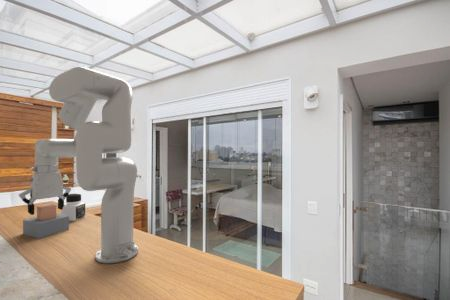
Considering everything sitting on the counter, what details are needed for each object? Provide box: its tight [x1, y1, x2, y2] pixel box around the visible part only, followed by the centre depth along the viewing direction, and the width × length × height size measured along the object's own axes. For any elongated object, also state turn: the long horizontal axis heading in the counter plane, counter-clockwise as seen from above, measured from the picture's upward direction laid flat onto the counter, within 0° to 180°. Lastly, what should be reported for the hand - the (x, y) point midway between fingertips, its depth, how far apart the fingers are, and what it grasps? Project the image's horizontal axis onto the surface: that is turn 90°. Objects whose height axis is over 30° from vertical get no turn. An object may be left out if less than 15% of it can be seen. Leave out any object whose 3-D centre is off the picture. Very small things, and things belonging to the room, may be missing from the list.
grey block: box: [22, 212, 70, 240], centre depth 94 cm, size 11×11×6 cm
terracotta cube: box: [36, 203, 57, 221], centre depth 94 cm, size 5×5×5 cm
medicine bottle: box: [60, 193, 86, 222], centre depth 111 cm, size 7×7×12 cm
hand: (46, 211), depth 94 cm, fingers open, 9 cm apart
